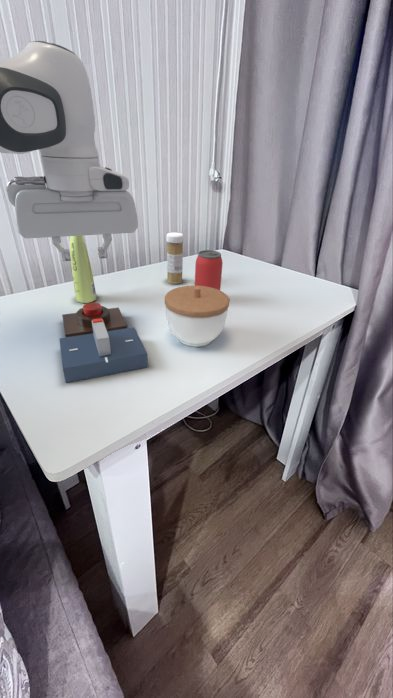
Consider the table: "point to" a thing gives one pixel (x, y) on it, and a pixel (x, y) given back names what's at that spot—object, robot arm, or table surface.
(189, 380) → the table surface
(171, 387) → the table surface
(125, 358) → the panel
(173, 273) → the sprinkles bottle
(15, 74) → the robot arm
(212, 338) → the lidded bowl
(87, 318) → the button block
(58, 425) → the table surface
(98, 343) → the grey rectangular block
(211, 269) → the beer can
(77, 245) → the tube
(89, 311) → the button
